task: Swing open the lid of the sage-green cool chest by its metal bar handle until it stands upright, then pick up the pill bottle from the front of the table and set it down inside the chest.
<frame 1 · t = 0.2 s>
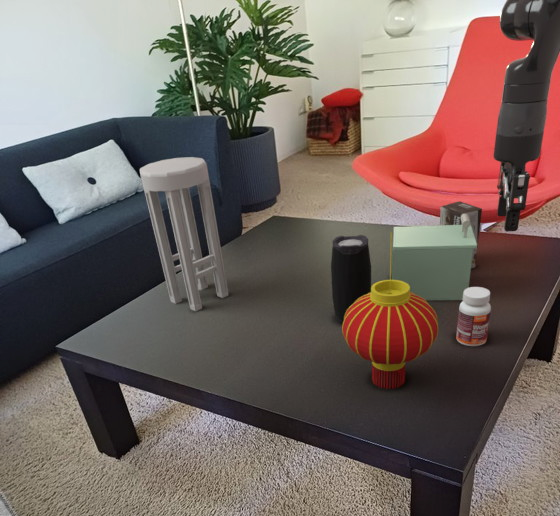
hand: (506, 222, 98), 25 cm above the table, tool pointing down, fingers open, 8 cm apart
coffee box: (455, 266, 144), on the table
stool: (199, 299, 142), on the table
portable speaker: (352, 320, 124), on the table
pill bottle: (470, 341, 112), on the table
lid: (433, 228, 124), point 16 cm above the table, hinge at 0.0°
lantern: (388, 382, 103), on the table
chest: (427, 289, 133), on the table
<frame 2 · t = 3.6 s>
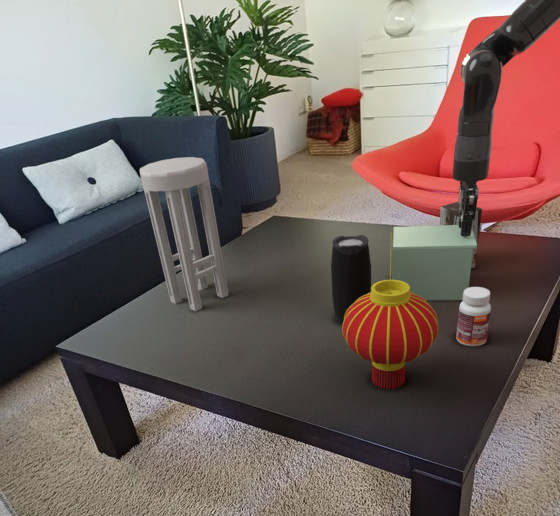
hand: (464, 231, 124), 15 cm above the table, tool pointing down, fingers closed on lid, 5 cm apart
lid: (433, 228, 124), point 16 cm above the table, hinge at 0.0°, touching gripper
everything else where it was.
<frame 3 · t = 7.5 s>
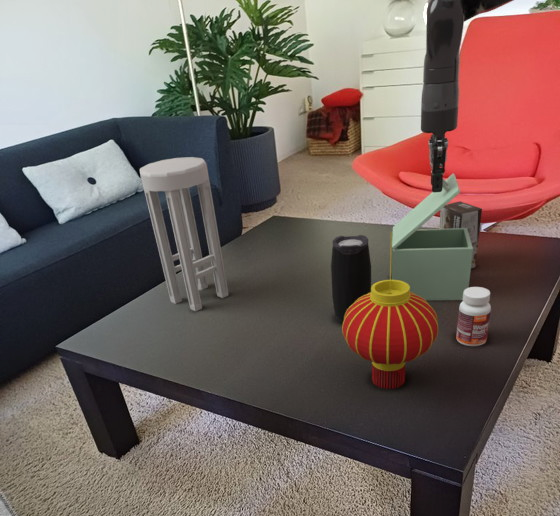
hand: (436, 187, 119), 25 cm above the table, tool pointing down, fingers closed on lid, 5 cm apart
lid: (417, 204, 122), point 22 cm above the table, hinge at 42.6°, touching gripper
everything else where it was.
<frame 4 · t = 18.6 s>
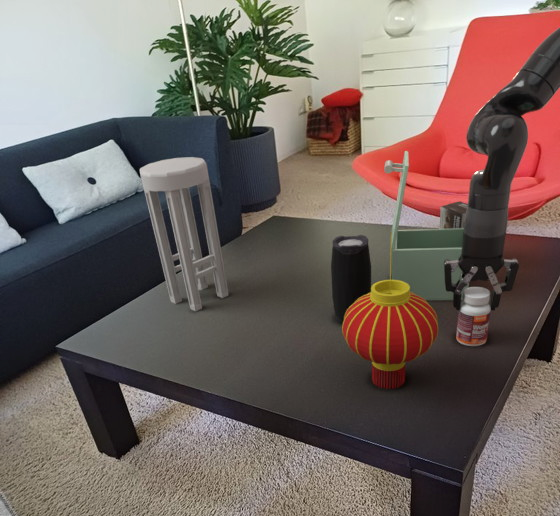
hand: (475, 308, 107), 8 cm above the table, tool pointing down, fingers closed on pill bottle, 6 cm apart
pill bottle: (471, 341, 112), on the table, touching gripper
lid: (390, 198, 122), point 23 cm above the table, hinge at 82.2°
everything else where it was.
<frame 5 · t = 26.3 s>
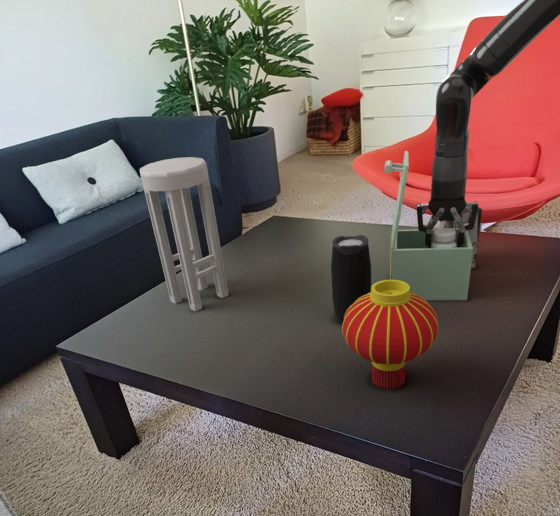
hand: (443, 246, 126), 11 cm above the table, tool pointing down, fingers closed on pill bottle, 6 cm apart
pill bottle: (441, 276, 131), point 4 cm above the table, touching gripper
everything else where it was.
when the fingers open (13 cm above the table, at t = 41.0 s): pill bottle drops 5 cm, resting on chest.
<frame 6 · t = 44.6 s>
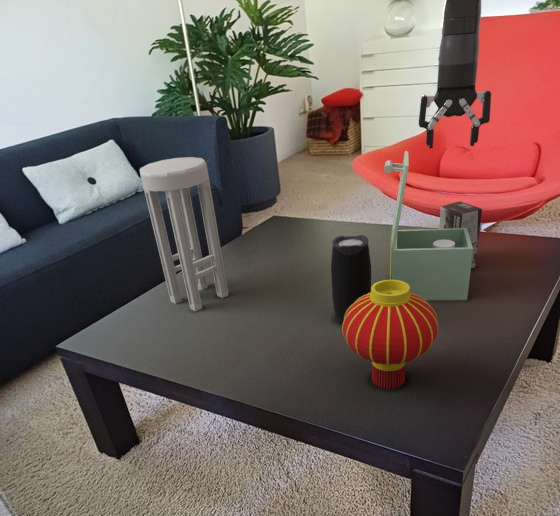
hand: (451, 146, 114), 34 cm above the table, tool pointing down, fingers open, 8 cm apart
pill bottle: (440, 286, 132), point 1 cm above the table, touching chest
everything else where it was.
at the end: lid at +82° (first picture: +0°); pill bottle inside the target area in the chest (3.1 cm from its centre), point 0.7 cm above the chest's base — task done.
